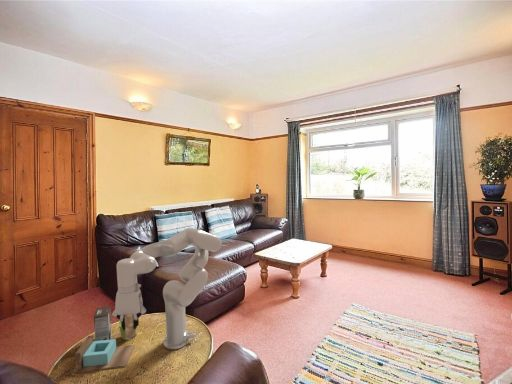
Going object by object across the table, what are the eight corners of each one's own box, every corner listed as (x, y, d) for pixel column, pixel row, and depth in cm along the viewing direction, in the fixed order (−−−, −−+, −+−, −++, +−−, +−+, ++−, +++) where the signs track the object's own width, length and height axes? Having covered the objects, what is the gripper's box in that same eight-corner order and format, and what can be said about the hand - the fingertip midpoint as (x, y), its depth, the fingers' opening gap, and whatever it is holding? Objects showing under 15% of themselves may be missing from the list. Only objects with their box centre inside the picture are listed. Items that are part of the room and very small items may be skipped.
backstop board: (135, 345, 128) (134, 330, 128) (125, 366, 115) (124, 349, 114) (89, 350, 125) (88, 334, 124) (73, 372, 111) (72, 355, 111)
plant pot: (139, 338, 134) (139, 322, 133) (119, 345, 129) (118, 328, 128) (136, 329, 142) (135, 314, 141) (117, 335, 136) (116, 319, 136)
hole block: (116, 348, 125) (115, 339, 125) (107, 364, 115) (107, 353, 115) (94, 351, 124) (93, 341, 123) (83, 366, 114) (82, 356, 113)
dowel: (137, 333, 115) (135, 307, 114) (134, 339, 111) (132, 312, 110) (127, 334, 115) (126, 308, 114) (124, 340, 111) (122, 313, 110)
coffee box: (98, 337, 135) (96, 307, 134) (112, 334, 138) (110, 305, 136) (95, 348, 127) (93, 317, 125) (110, 344, 129) (108, 314, 128)
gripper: (150, 282, 116) (152, 320, 118) (110, 285, 113) (113, 324, 115) (145, 290, 108) (148, 331, 110) (103, 293, 106) (106, 335, 108)
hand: (130, 327), depth 113 cm, fingers closed on dowel, 4 cm apart
